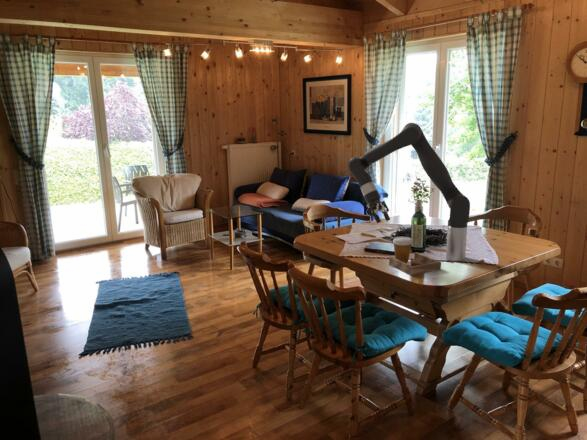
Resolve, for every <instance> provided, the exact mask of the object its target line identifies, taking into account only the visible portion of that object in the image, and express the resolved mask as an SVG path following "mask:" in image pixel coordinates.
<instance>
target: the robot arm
mask: <svg viewBox="0 0 587 440" xmlns="http://www.w3.org/2000/svg"><path fill="white" fill-rule="evenodd" d="M409 146H412V148H413V149H414V151H415V153H416V154H417V156H418V159H419V162H420V164H421V166H422V169H423V170H424V172H425V173H426V175H427V176H428V178H429V179H430V181H432V183H433V184H434V185H435V186H436V188H437V189H438V190H439V191H440V193H441V194H442V196H443V198H444V200H445V202H446V204H447V206H448V208H449V219H448V220H447V235H446V251H445V252H446V253H445V258H446V260H449V261H452V262H462V261H465V260H466V253H467V251H466V250H467V235H468V224H469V221H470V212H471V210H470V209H471V201H470V199H469V198H468V197H467V196H466V195H465V194H463V193H462V192H461V191H460V190H459V188H458V187H457V186H456V185H455V183H454V182H453V179H452V177H451V174H450V173H449V170H448V168H447V167H446V165H445V163H444V162H443V161H442V160H441V158H440V156H439V155H438V153H437V152H436V151H435V149H434V148H433V147H432V146H431V144H430V142H429V141H428V139H427V138H426V135H425V134H424V131H423V129H422V128H421V126H420V125H419V124H418V123H415V122H409V123H406V124H405V125H404V127H403V128H402V130H401V131H400V132H399V133H398V134H396V135H395V136H393V137H392V138H390V139H388V140H386V141H383V142H382V143H379V144H377V145H375V146H374V147H371V148H370V149H368V150H366V151H365V152H364V154H363V155H362V156H360V157H354V156H353V157H351V158H350V159H349V160H348V164H347V166H348V170H349V171H350V173H351V174H352V176H353V177H354V178H355V179H356V183H357V184H358V185H359V188H360V190H361V193H362V195H363V198H364V200H365V202H366V205H365V206H366V209H367V212H368V214H369V215H370V217H373V218H374V219H375V222H376V223H377V224H379V223H382V221H381V220H382V219H381V218H380V216H379V213H382V214H383V217H384V218H385V219H384V220H385V222H388V221H390V220H391V217H390V215H389V212H390V209H389V206H388V205H387V203H386V201H385V200H382V201H381V195H380V193H379V190H378V188H377V186H376V185H375V183H374V181H373V179H372V177H371V175H370V174H369V173H368V172H367V171H366V170H367V169H368V168H369V167H371V165H372V164H375V163H376V162H378V161H380V160H382V159H384V158H386V157H387V156H389V155H390V154H392V153H394V152H397V151H399V150H400V149H401V150H402V149H403V148H405V147H409Z"/></svg>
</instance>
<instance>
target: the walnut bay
mask: <svg viewBox="0 0 587 440" xmlns="http://www.w3.org/2000/svg"><path fill="white" fill-rule="evenodd" d="M413 256H414V258H413V260H414V261H415V262H418V263H420V264H417V265H411V264H409V263H404V262H402V261H400V260H398V259H396V258H395V257H393V256H389V259H388V266H390V267H393V268H394V269H397V270H399V271H401V272H403V273H405V274H407V275H409V276H411V277H414V276H418V275H424V274H428V273H432V272H438V271H441V269H442V268H441V267H442V261H439V260H438V259H434V258H433V257H430V256H428V255H425V254H423V253H420V252H417V251H415V252H414V255H413Z"/></svg>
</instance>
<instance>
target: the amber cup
mask: <svg viewBox="0 0 587 440" xmlns="http://www.w3.org/2000/svg"><path fill="white" fill-rule="evenodd" d="M392 243H393V248H394V250H393V251H394V258H396V259H398V260H400V261H402V262H404V263H407V264H409V261H410V260H409V259H410V253H411V247H412V244H413V241H412V238H411V237H409V236H395V237H394V238H393V240H392Z"/></svg>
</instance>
